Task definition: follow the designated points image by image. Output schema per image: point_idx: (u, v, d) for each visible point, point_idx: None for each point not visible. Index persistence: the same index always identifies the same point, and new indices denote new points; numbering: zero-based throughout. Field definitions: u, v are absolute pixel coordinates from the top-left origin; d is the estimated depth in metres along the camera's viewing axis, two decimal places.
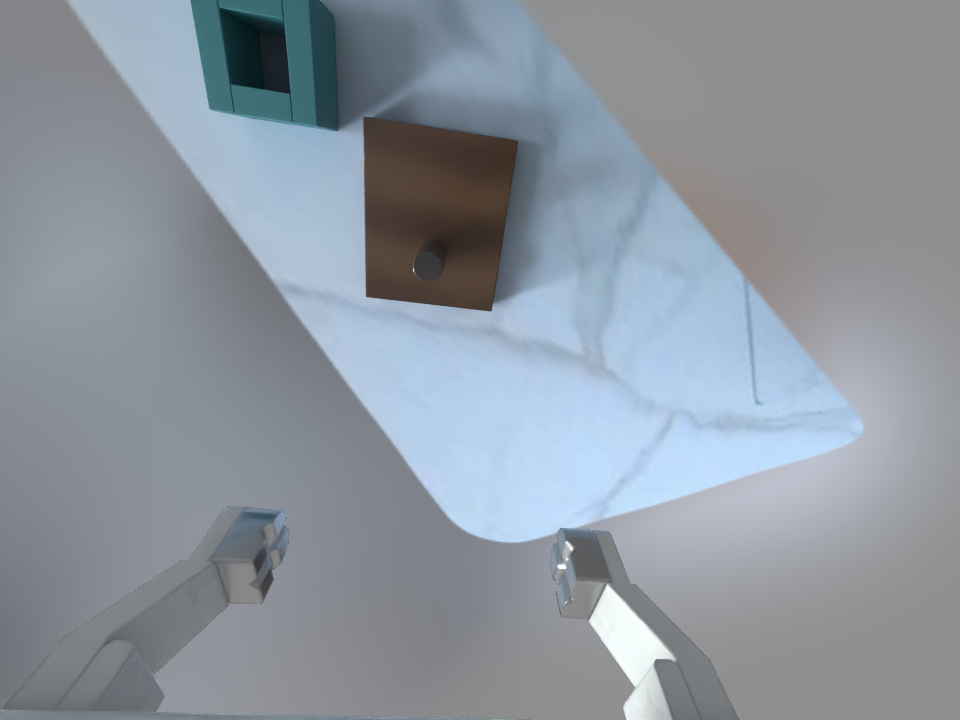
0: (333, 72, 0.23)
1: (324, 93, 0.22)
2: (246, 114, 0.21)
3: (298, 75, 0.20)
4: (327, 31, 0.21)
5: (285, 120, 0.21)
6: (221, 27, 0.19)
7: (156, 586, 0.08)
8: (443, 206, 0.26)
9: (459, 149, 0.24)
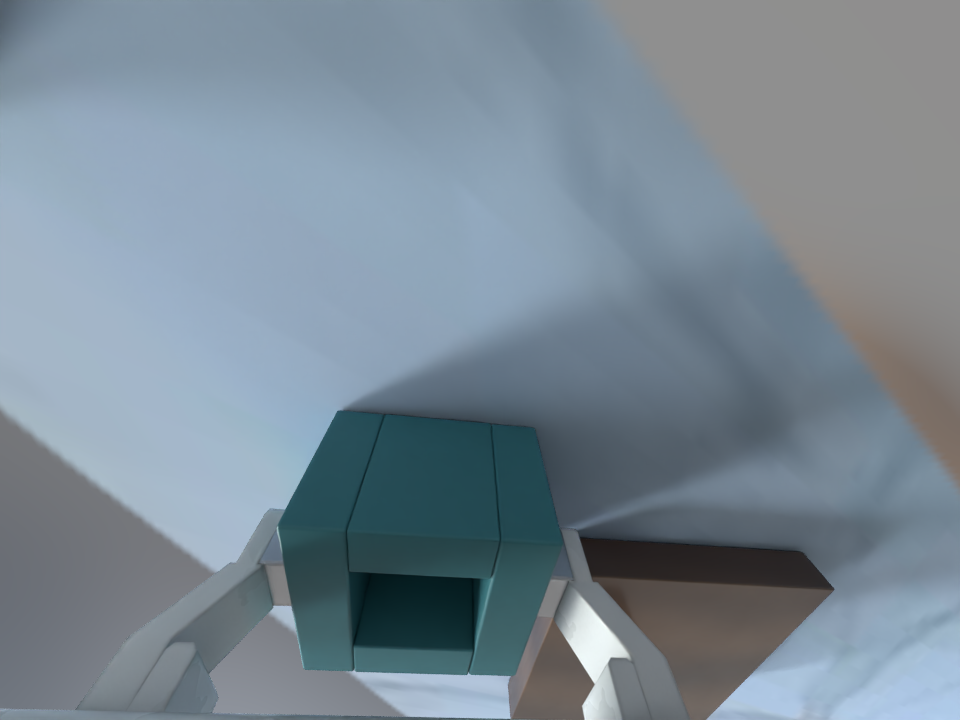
0: None
1: None
2: (377, 670, 0.10)
3: (498, 634, 0.10)
4: None
5: (453, 673, 0.11)
6: (347, 588, 0.09)
7: (210, 588, 0.08)
8: (671, 649, 0.15)
9: (727, 600, 0.14)
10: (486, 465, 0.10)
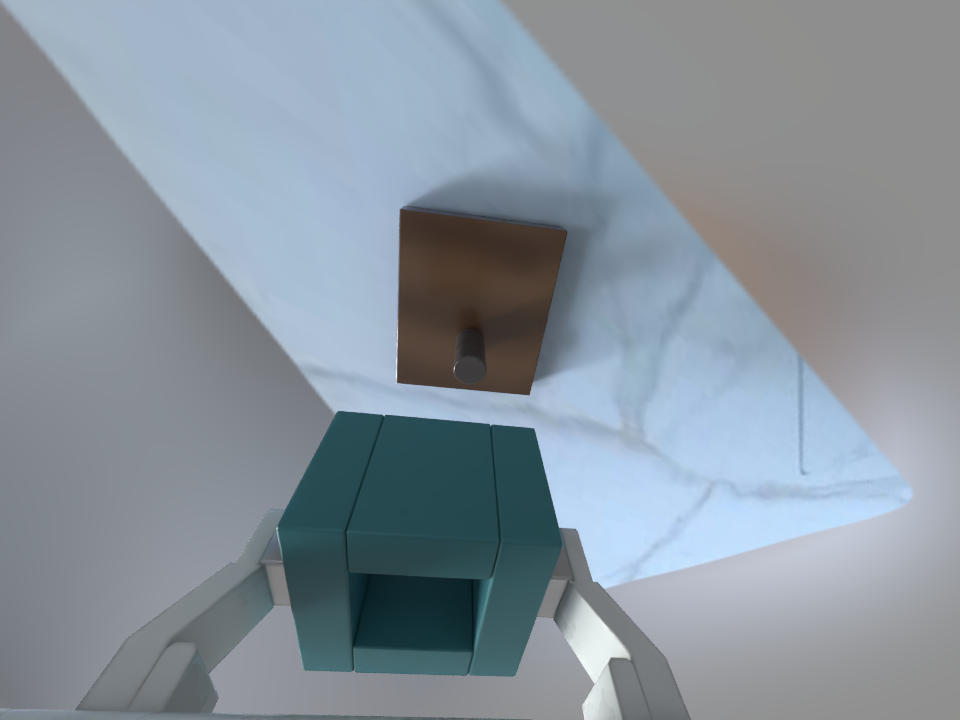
0: None
1: None
2: (376, 671, 0.10)
3: (498, 635, 0.10)
4: None
5: (453, 673, 0.11)
6: (347, 589, 0.09)
7: (210, 589, 0.08)
8: (483, 295, 0.24)
9: (503, 240, 0.22)
10: (486, 466, 0.10)
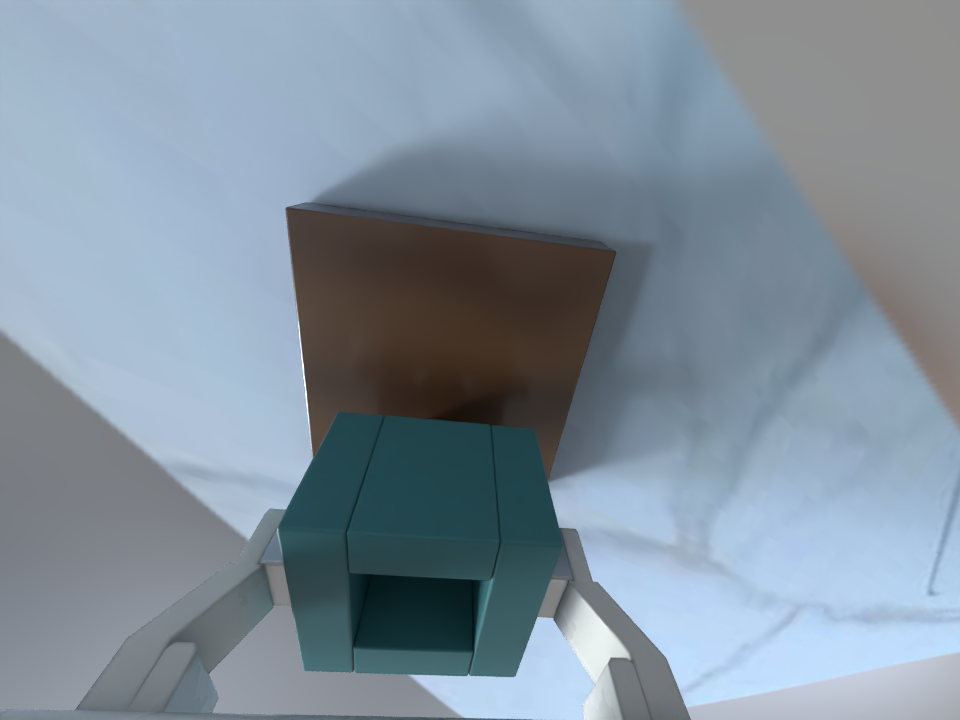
0: None
1: None
2: (377, 671, 0.10)
3: (498, 636, 0.10)
4: None
5: (453, 674, 0.11)
6: (347, 589, 0.09)
7: (210, 589, 0.08)
8: (457, 365, 0.13)
9: (493, 268, 0.12)
10: (486, 466, 0.10)
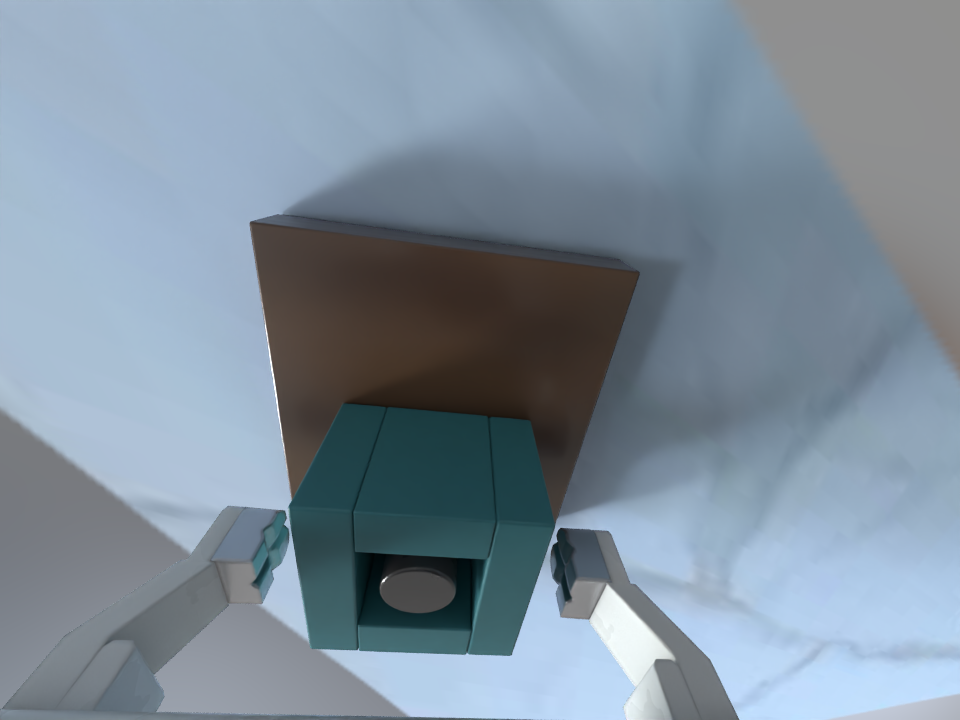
0: None
1: None
2: (380, 649, 0.11)
3: (495, 614, 0.10)
4: None
5: (452, 652, 0.11)
6: None
7: (156, 586, 0.08)
8: (454, 400, 0.12)
9: (495, 291, 0.10)
10: (483, 454, 0.10)
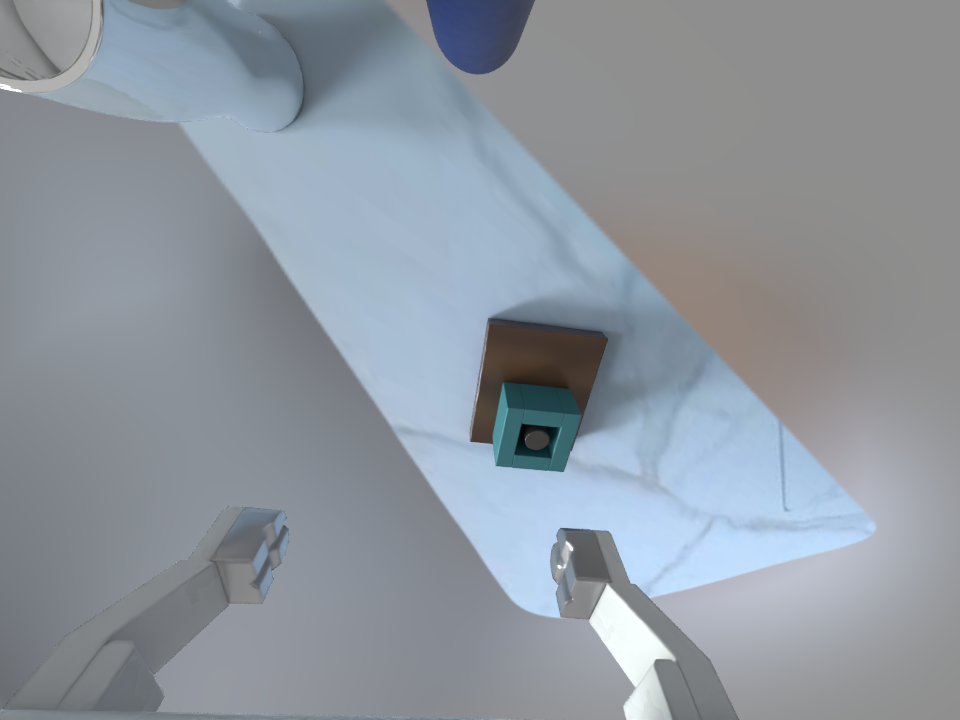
0: None
1: None
2: (518, 467, 0.31)
3: (560, 450, 0.31)
4: None
5: (543, 469, 0.32)
6: (518, 430, 0.30)
7: (156, 586, 0.08)
8: (543, 381, 0.32)
9: (561, 344, 0.31)
10: (556, 398, 0.31)
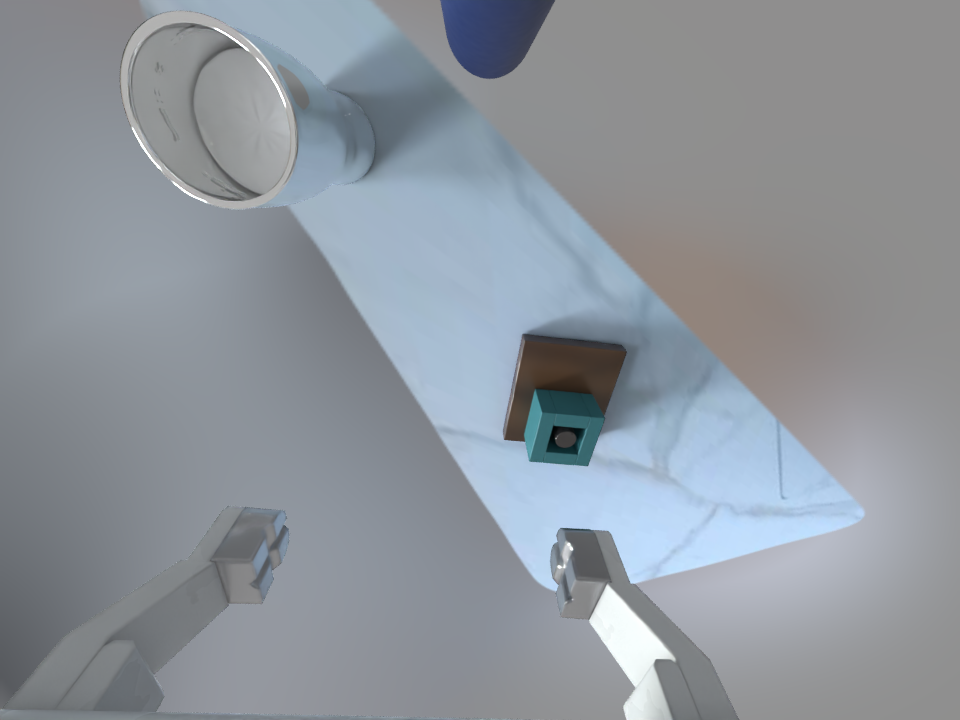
0: None
1: None
2: (549, 462, 0.36)
3: (585, 448, 0.36)
4: None
5: (570, 464, 0.37)
6: (550, 431, 0.35)
7: (156, 586, 0.08)
8: (569, 387, 0.37)
9: (586, 356, 0.35)
10: (582, 403, 0.36)
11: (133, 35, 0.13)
